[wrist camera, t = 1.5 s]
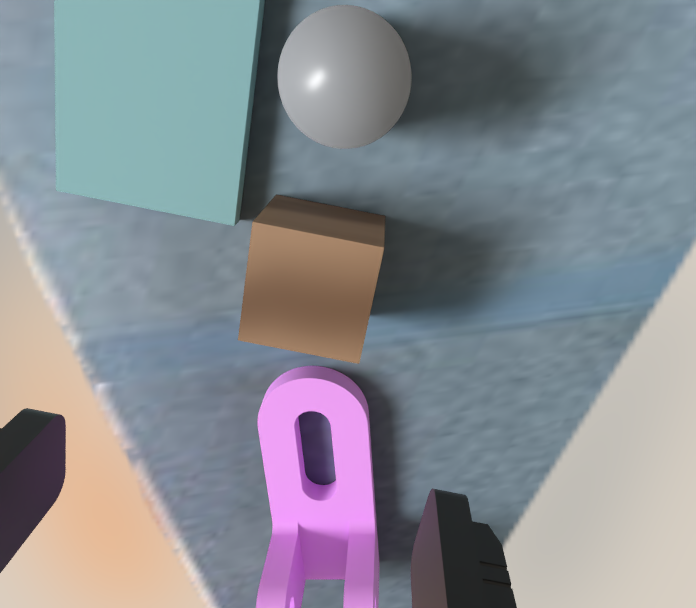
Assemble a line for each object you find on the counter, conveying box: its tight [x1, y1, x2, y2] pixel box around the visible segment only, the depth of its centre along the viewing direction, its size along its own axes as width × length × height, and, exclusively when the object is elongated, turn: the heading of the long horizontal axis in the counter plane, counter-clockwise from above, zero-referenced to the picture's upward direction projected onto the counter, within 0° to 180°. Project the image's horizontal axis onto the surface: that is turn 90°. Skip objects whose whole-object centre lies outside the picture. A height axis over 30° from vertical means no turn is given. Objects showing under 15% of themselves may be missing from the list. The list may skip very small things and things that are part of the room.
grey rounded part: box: [278, 5, 412, 149], centre depth 22 cm, size 4×4×6 cm
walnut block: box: [238, 195, 385, 364], centre depth 25 cm, size 5×5×5 cm
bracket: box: [256, 366, 379, 608], centre depth 29 cm, size 13×6×7 cm, turn 4°
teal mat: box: [54, 0, 265, 226], centre depth 24 cm, size 10×8×1 cm
